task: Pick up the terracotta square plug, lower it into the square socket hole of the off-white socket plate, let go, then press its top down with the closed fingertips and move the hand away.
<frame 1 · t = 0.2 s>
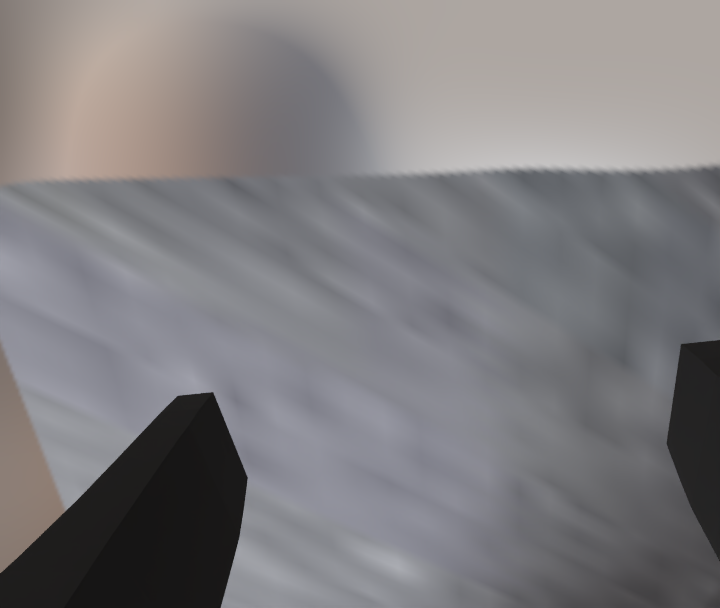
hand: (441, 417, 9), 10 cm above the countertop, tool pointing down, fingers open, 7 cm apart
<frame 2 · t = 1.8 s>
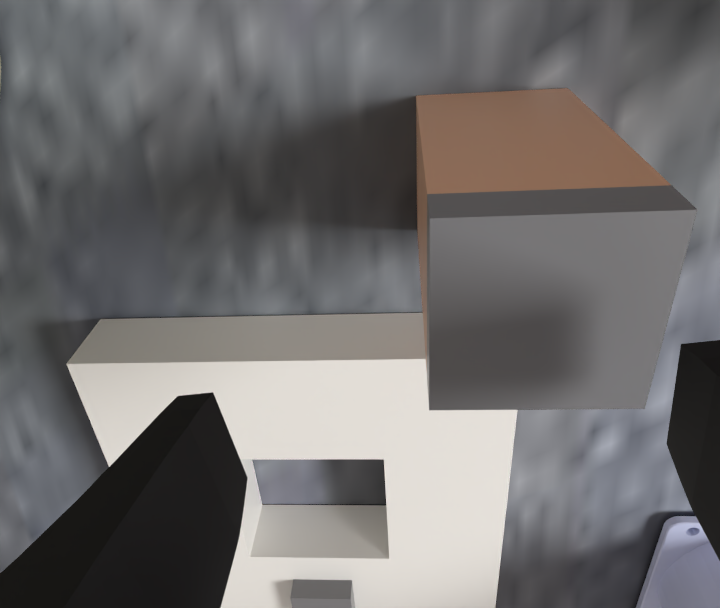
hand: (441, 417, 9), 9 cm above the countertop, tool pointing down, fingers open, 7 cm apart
plug: (487, 164, 17), on the countertop
socket plate: (319, 460, 24), on the countertop
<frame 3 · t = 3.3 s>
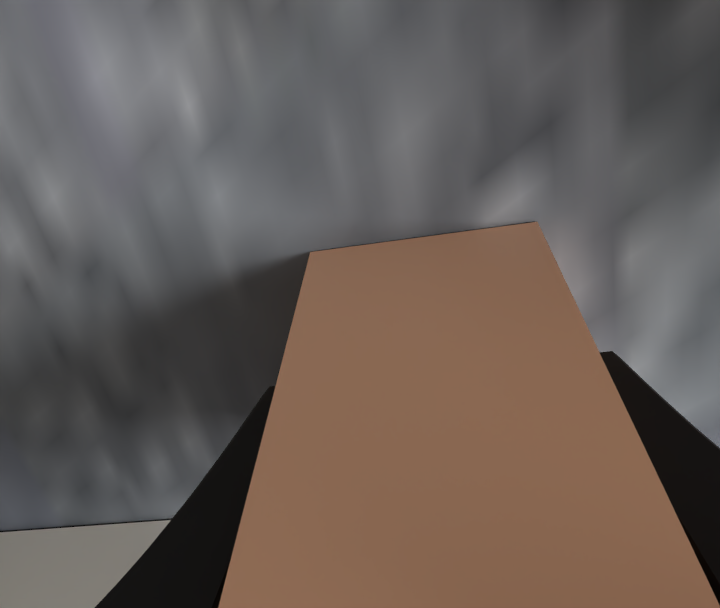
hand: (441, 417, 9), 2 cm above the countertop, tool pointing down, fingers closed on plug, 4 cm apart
plug: (432, 329, 11), on the countertop, touching gripper
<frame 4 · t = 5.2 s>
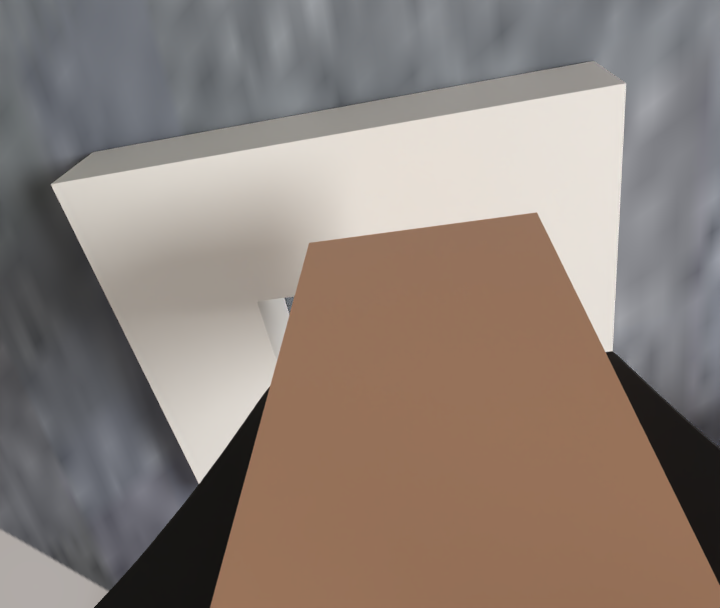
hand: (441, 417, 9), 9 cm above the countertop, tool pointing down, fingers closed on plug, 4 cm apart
plug: (432, 321, 11), point 7 cm above the countertop, touching gripper
socket plate: (372, 318, 20), on the countertop
when the fingers open (3 cm above the countertop, at t = 7.2 s): plug stays where it is, resting in socket plate.
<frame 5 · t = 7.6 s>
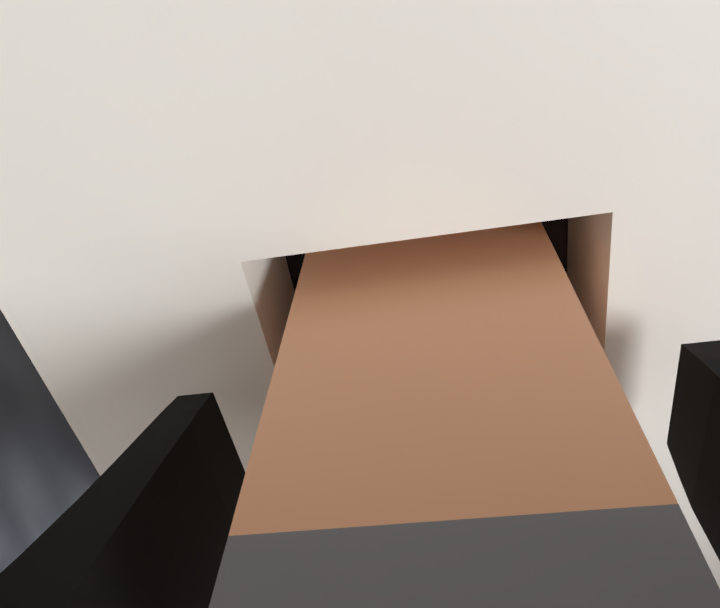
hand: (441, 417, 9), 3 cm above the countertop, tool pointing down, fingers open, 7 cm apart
plug: (429, 294, 12), resting in socket plate
socket plate: (430, 301, 12), on the countertop
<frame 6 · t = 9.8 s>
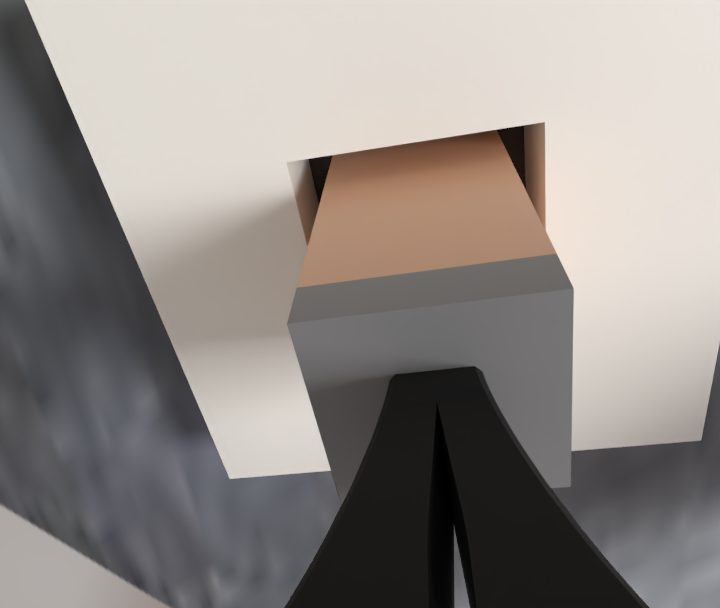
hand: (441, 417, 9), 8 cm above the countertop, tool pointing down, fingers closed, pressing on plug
plug: (421, 206, 16), resting in socket plate, touching gripper
socket plate: (422, 212, 16), on the countertop
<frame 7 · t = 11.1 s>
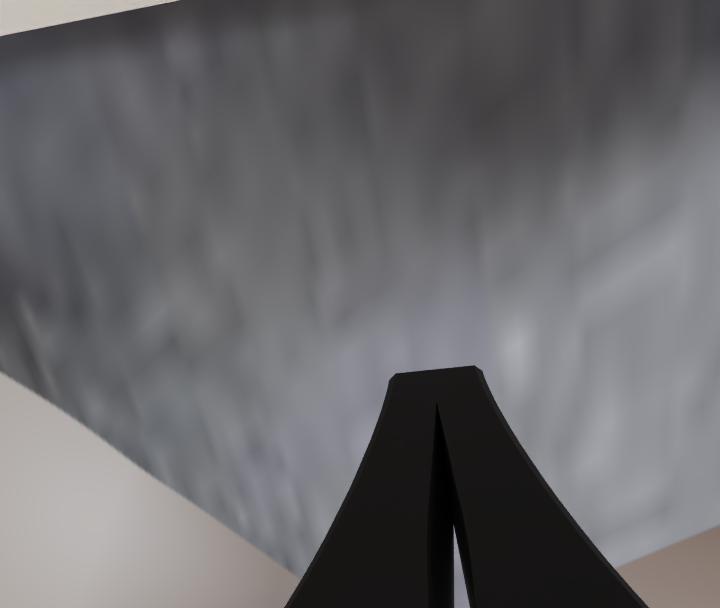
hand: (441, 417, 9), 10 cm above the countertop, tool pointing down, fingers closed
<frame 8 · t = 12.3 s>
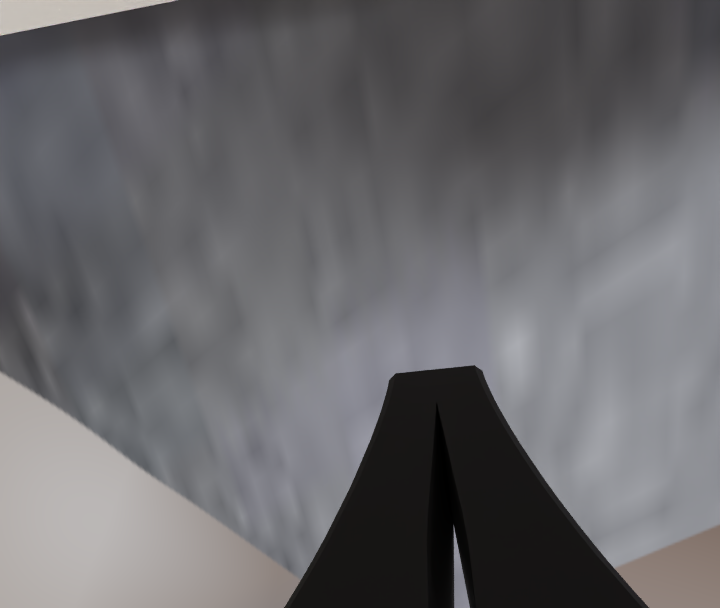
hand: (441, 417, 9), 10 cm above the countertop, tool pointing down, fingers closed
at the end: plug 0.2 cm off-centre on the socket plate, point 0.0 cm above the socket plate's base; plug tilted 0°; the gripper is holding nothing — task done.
